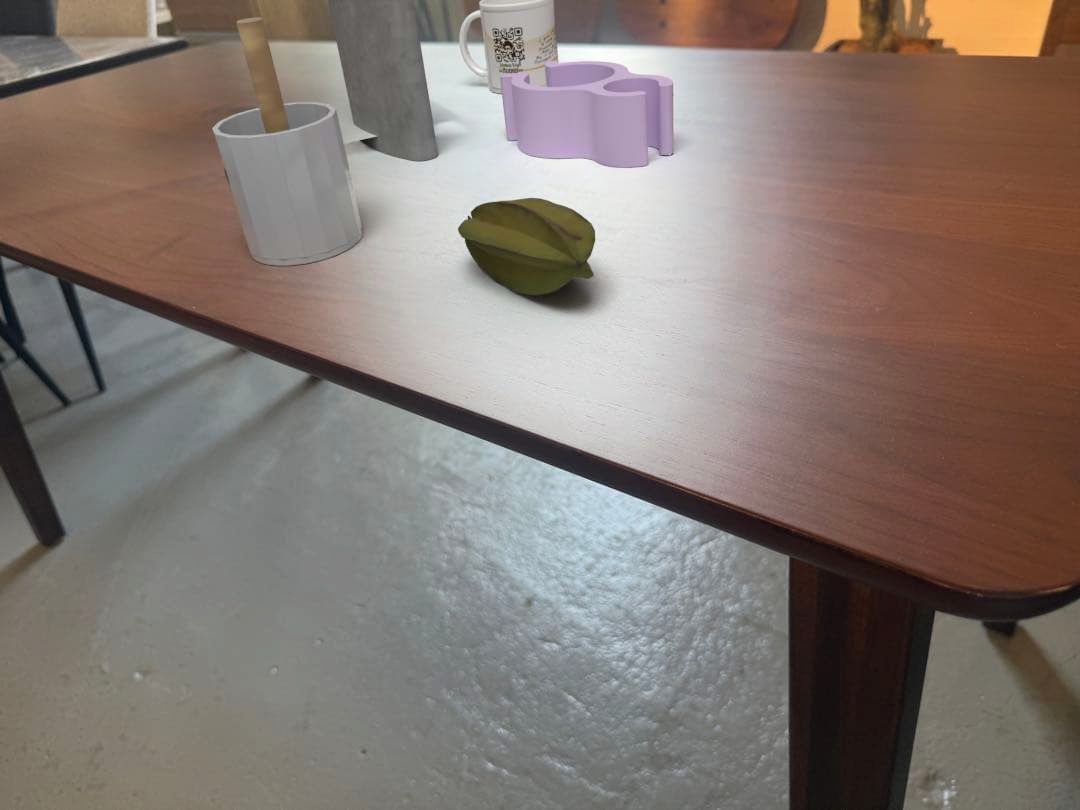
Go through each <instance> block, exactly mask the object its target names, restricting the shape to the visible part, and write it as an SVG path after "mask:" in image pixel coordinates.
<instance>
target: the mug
mask: <svg viewBox="0 0 1080 810" xmlns="http://www.w3.org/2000/svg"><path fill="white" fill-rule="evenodd" d="M478 8H479V9H478V10H475V11H473V12H471V13H470V14H469V15H467V17H466V18H464V20H463V22H462V24H461V27H460V30H459V38H458V39H459V40H458V42H459V49H460V53H461V56H462V59H463V62H464V63H465V64H466V66H467V67H468V69H469V70H470V71H472V73H474V74H475V75H478V76H479V77H482V78H487V80H488V87H489V90H490V91H491V92H493V93H495V94H501V95H502V90H501V81H500V76H501V75H503V74H514V73H527V74H529V79H530V85H534V86H540V87H546V76H545V64H544V62H547V61H557V63H559V51H558V38H557V37H558V36H557V27H556V13H555V1H554V0H480V1H479V2H478ZM479 18H480V24H481V31H482V40H483V48H484V56H485V65H486V68H485V67H482V66H480V65H479V64H477V62H476V61H475V60H474V59H473V57H472V55H471V54H470V51H469V48H468V40H467V39H468V31H469V28H470V26H471V24H472V22H473V21H474V20H476V19H479Z"/></svg>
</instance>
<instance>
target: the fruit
mask: <svg viewBox="0 0 1080 810" xmlns="http://www.w3.org/2000/svg"><path fill="white" fill-rule="evenodd" d="M470 215H471V216H470ZM470 215H467V219H464V220H463V221H462V222H461V223H460V224H459V226H458V228H457V231H458V234H459V235H460V237H461V238H463V239H464V243H465V246H466V248H467V251H468V252H469V254H470V256H471V258H472V259H473V261H474V262H475V263H476V265H477V266H478V267H479V268H480V269H481V270H482V272H484V274H485V275H487V276H488V277H489V278H490V279H492V280H493V281H494V282H495V283H496V284H499V285H500V286H503V287H505V288H506V289H508V290H509V291H511V292H514V293H517V294H520V295H521V294H522V295H527V296H542V295H548V294H550V293H554V292H556V291H558V290H560V289H561V288H563V287H564V286H565V285H567V284H568V283H570V282H571V281H573V279H574V278H580V279H581V278H582V279H591V278H593V277H594V272H593V269H592V267H591V265H590V264H589V262H588V260H589V258H590V257H591V256H592V253H593V250H594V246H595V243H596V230H595V228H594V225H593V223H591V221H589V220H588V219H587V218H586V217H584V216H583V215H582V214H581V213H579V212H577V211H576V210H574V209H572V208H570V207H568V206H565V205H562V204H559V203H555V202H552V201H550V200H547V199H543V198H540V197H526V198H519V199H511V200H498V201H497V200H496V201H489V202H484V203H481V204H478V205H476V206H475V207H474V208H473V209H472V210H471V211H470Z"/></svg>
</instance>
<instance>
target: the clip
mask: <svg viewBox="0 0 1080 810" xmlns="http://www.w3.org/2000/svg"><path fill="white" fill-rule="evenodd" d="M544 64H545V76H546V87H540V86H534V85H530V79H529V74H527V73H514V74H503V75H501V76H500V81H501V90H502V94H501V98H502V107H503V117H504V125H505V133H506V140H507V141H517V147H518V149H519V151H520V152H521V153H524V154H526V155H529V156H532V157H537V158H543V159H589V160H592V161H595V162H596V163H598V164H601V165H603V166H608V167H614V168H639V167H646V166H648V165H649V147H650V146H653V147H652V148H654V147H656V148H655V149H657V148H658V149H659V150H660V151H659V150H658V149H657V150H658V151H659V155H660V154H661V155H660V156H662V155H669V154H672V153H673V151H674V150H675V149H674V147H675V146H674V145H675V144H674V143H675V141H674V138H675V135H674V81H673V79H671V78H670V77H667V76H663V75H659V74H658V75H656V74H640V73H635V72H634V73H633V72H630V71H629V69H628V67H626V66H625V65H623V64H621V63H616V62H610V61H600V60H599V61H597V60H592V61H591V60H585V61H583V60H582V61H581V60H580V61H569V62H568V61H567V62H558V63H557V61H547V62H544ZM674 152H675V151H674ZM673 154H674V153H673Z"/></svg>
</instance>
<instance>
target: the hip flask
mask: <svg viewBox="0 0 1080 810" xmlns="http://www.w3.org/2000/svg"><path fill="white" fill-rule="evenodd" d="M327 3H328V7H329V13H330V18H331V23H332V28H333V32H334V37H335V42H336V47H337V50H338V55H339V61H340V65H341V69H342V73H343V75H342V76H343V79H344V80H343V81H344V84H345V90H346V93H347V98H348V103H349V107H350V108H349V109H350V113H351V117H352V121H353V125H354V126H356V127H357V128H359V129H360V130H362V131H364V132H366V133H368V134H371V135H373V136H371V137H367V138H363V139H359V140H358V141H359V142H360V143H362V144H363V145H365V146H367V147H368V148H371V149H373V150H375V151H378V152H380V153H384V154H386V155H389V156H393V157H397V158H400V159H404V160H408V161H414V162H423V161H430V160H434V159H435V158H437V157H438V156H439V150H438V144H437V139H436V130H435V125H434V119H433V112H432V107H431V106H432V105H431V101H430V95H429V94H430V93H429V88H428V82H427V76H426V69H425V64H424V57H423V52H422V45H421V38H420V32H419V27H418V20H417V14H416V7H415V1H414V0H327Z"/></svg>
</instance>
